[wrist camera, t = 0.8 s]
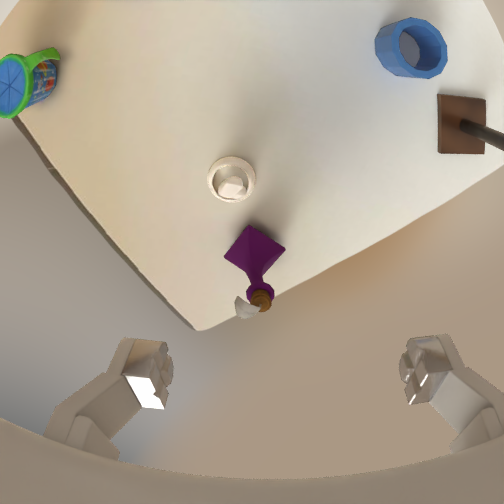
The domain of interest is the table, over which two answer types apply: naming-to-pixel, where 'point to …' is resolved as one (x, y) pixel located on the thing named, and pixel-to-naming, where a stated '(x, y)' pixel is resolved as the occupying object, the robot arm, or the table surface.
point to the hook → (232, 180)
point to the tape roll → (427, 40)
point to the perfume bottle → (254, 269)
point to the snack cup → (26, 80)
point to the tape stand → (464, 126)
